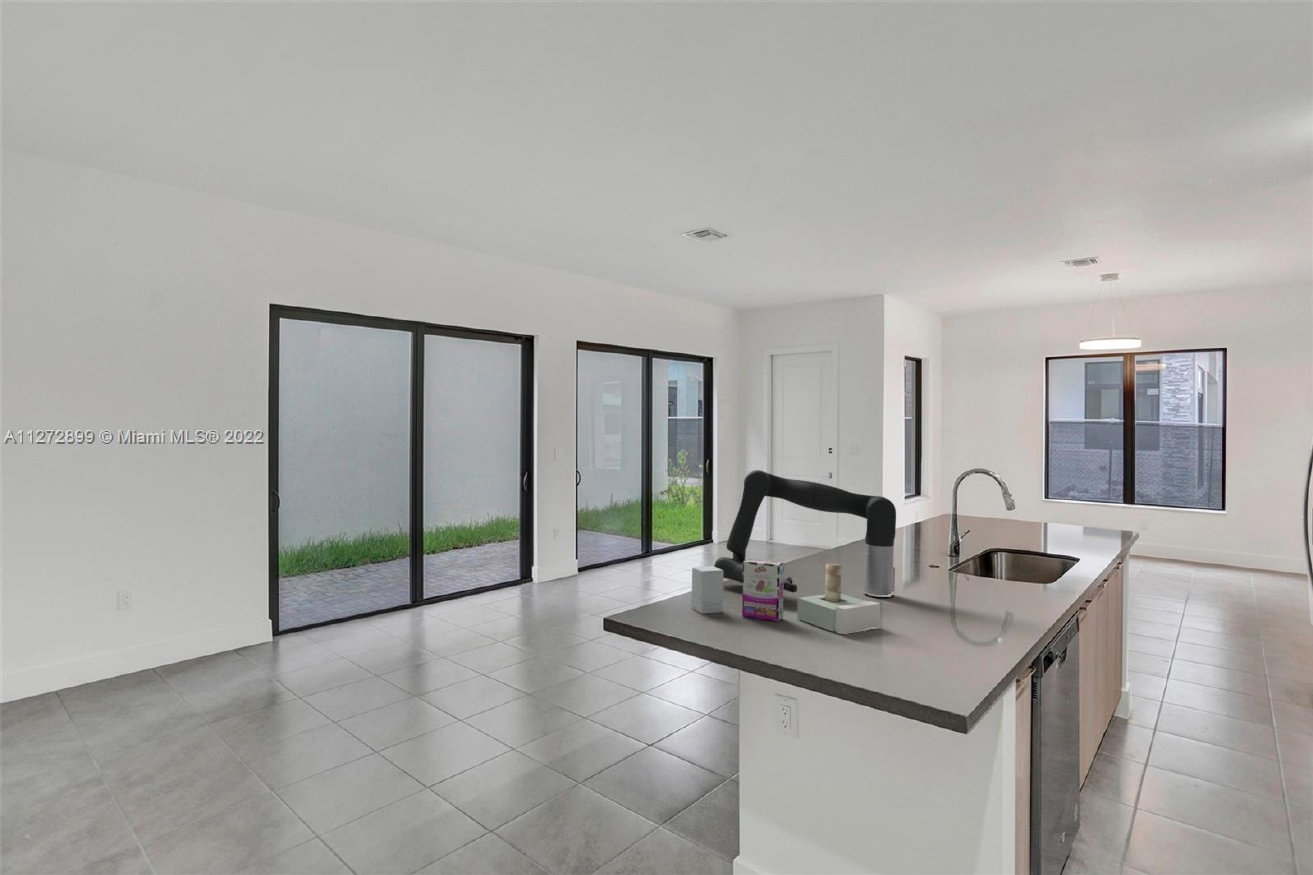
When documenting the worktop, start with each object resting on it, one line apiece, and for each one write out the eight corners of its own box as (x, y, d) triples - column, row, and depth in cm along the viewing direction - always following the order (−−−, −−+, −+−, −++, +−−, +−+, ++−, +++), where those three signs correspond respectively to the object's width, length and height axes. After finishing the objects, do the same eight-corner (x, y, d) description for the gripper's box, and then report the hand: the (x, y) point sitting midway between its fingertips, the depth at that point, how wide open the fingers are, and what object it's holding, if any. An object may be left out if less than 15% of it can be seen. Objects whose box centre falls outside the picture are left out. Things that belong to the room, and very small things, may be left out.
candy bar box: (783, 618, 196) (785, 562, 196) (778, 622, 191) (779, 565, 191) (747, 613, 201) (748, 558, 201) (741, 616, 196) (742, 560, 196)
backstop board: (871, 625, 190) (871, 601, 190) (879, 628, 188) (880, 603, 188) (835, 632, 183) (835, 606, 183) (843, 635, 181) (844, 609, 181)
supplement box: (723, 612, 201) (724, 570, 201) (700, 614, 198) (702, 571, 198) (712, 606, 208) (713, 565, 208) (690, 607, 205) (691, 566, 205)
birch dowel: (832, 610, 197) (833, 563, 197) (843, 614, 193) (844, 565, 193) (821, 612, 195) (822, 564, 195) (832, 616, 191) (833, 567, 191)
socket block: (837, 612, 203) (837, 592, 203) (873, 624, 191) (874, 603, 191) (797, 618, 195) (797, 597, 195) (832, 631, 183) (833, 609, 183)
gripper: (743, 567, 219) (779, 578, 204) (774, 564, 226) (811, 575, 211) (742, 590, 219) (778, 603, 204) (774, 587, 226) (810, 598, 211)
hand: (795, 588), depth 207 cm, fingers closed
